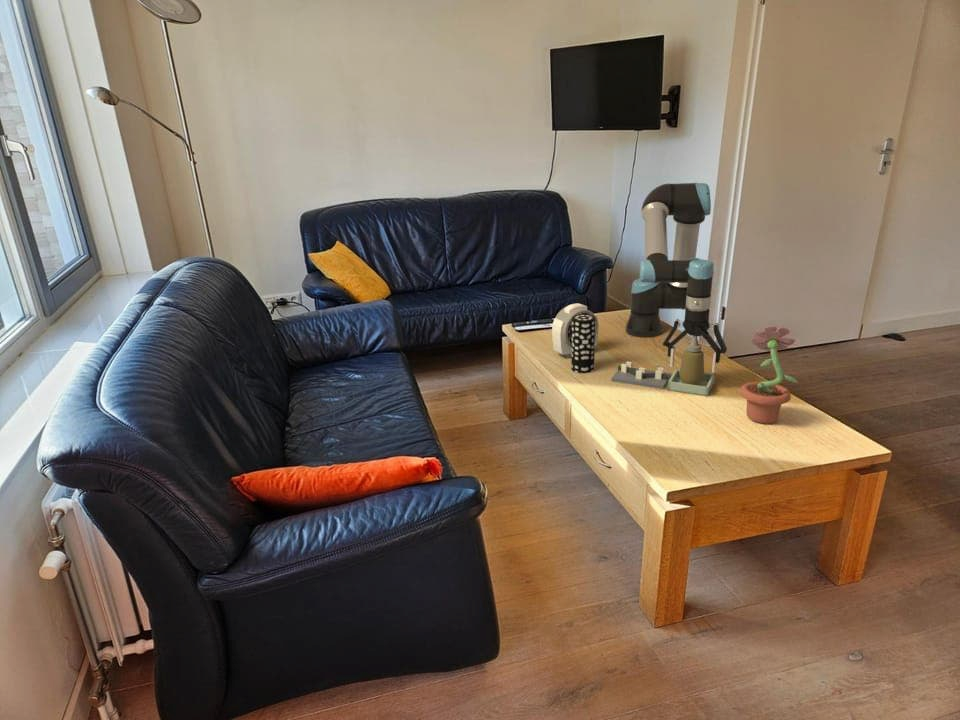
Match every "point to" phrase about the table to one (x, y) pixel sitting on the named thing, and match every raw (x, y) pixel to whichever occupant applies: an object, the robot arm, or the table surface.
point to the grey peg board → (641, 376)
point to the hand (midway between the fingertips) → (692, 368)
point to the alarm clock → (568, 328)
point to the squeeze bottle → (692, 364)
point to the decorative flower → (768, 394)
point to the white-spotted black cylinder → (583, 343)
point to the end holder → (703, 389)
